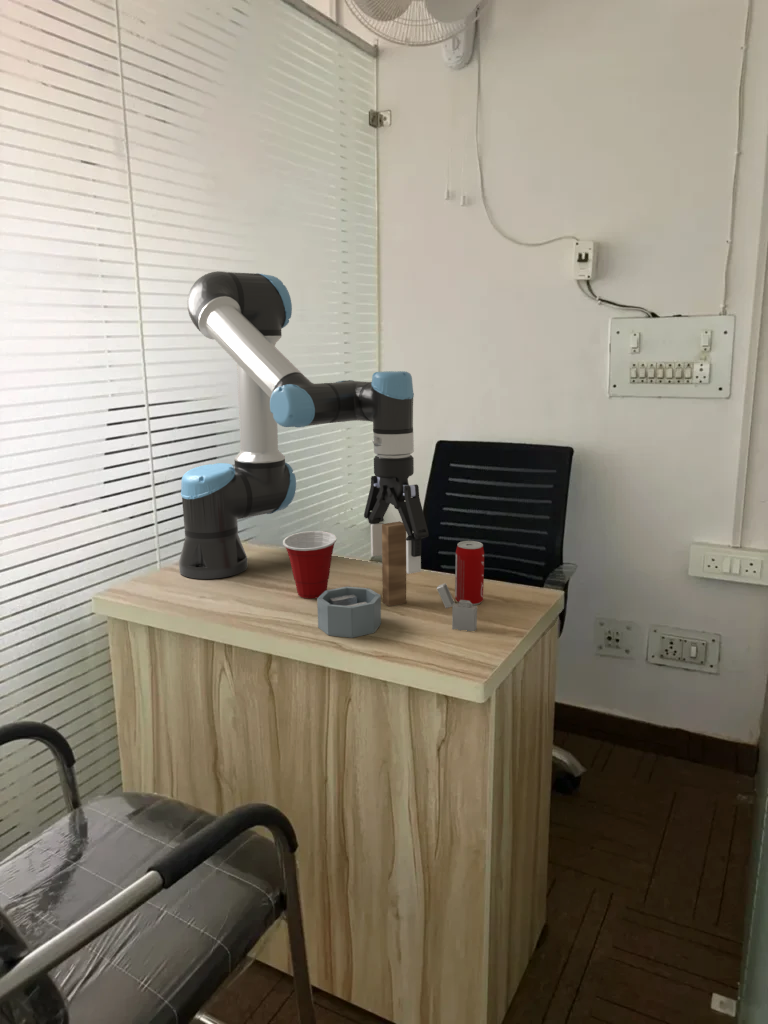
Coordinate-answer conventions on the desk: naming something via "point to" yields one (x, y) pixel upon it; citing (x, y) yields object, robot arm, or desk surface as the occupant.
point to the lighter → (459, 610)
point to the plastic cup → (310, 561)
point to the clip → (345, 600)
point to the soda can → (469, 572)
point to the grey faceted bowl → (349, 613)
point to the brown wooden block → (394, 563)
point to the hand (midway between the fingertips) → (395, 563)
